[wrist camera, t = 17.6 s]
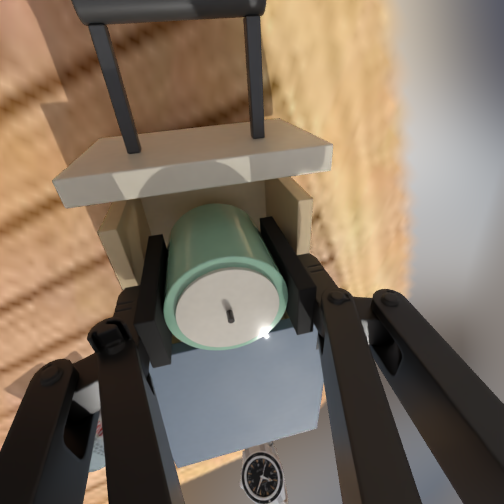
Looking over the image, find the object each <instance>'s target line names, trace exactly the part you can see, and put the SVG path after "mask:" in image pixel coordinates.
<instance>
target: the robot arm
mask: <svg viewBox="0 0 504 504" xmlns="http://www.w3.org/2000/svg"><path fill="white" fill-rule="evenodd" d="M260 233H261V235H262V237H263V239H264V241H265V243H266V245H267V247H268V249H269V251H270V253H271V255H272V257H273V258H274V260H275V262H276V264H277V266H278V268H279V270H280V272H281V274H282V276H283V278H284V280H285V282H286V285H287V288H288V303H287V307H286V311H287V314H288V316H289V318H290V320H291V323H292V325H293V327H294V329H295V332H296V334H297V335H301V334H305V333H310V332H313V325H315V327H316V329H317V331H318V335H317V345H316V349H319V354H320V360H321V367H322V373H323V379H324V386H325V392H326V399H327V405H328V412H329V418H330V424H331V431H332V437H333V444H334V450H335V456H336V463H337V470H338V476H339V483H340V489H341V496H342V502H343V504H422V502H421V499H420V496H419V493H418V490H417V487H416V484H415V481H414V478H413V475H412V472H411V469H410V466H409V463H408V460H407V457H406V454H405V451H404V449H403V445H402V442H401V439H400V436H399V433H398V430H397V427H396V424H395V421H394V418H393V415H392V412H391V409H390V406H389V403H388V400H387V397H386V394H385V391H384V388H383V385H382V383H381V380H380V376H379V374H378V370H377V367H376V364H375V362H376V363H377V365H378V366H379V368H380V369H381V371H382V373H383V374H384V376H385V378H386V379H387V381H388V382H389V384H390V386H391V387H392V389H393V390H394V392H395V394H396V395H397V397H398V398H399V400H400V401H401V404H402V405H403V407H404V408H405V410H406V412H407V413H408V415H409V416H410V418H411V420H412V421H413V423H414V424H415V426H416V427H417V429H418V431H419V433H420V434H421V436H422V437H423V439H424V441H425V442H426V444H427V446H428V447H429V449H430V450H431V452H432V454H433V455H434V457H435V458H436V460H437V462H438V463H439V465H440V466H441V468H442V470H443V471H444V473H445V475H446V476H447V478H448V479H449V481H450V482H451V484H452V486H453V488H454V489H455V490H456V492H457V494H458V495H459V497H460V499H461V500H462V502H463V504H504V404H503V403H502V402H501V401H500V400H499V399H498V397H497V396H496V395H495V394H494V393H493V392H492V391H491V390H490V389H489V388H488V387H487V386H486V384H485V383H484V382H483V381H482V380H481V379H480V378H479V377H478V376H477V375H476V374H475V373H474V372H473V371H472V369H470V367H469V366H468V365H467V364H466V363H465V362H464V361H463V360H462V358H461V357H460V356H459V355H458V354H457V353H456V352H455V351H454V350H453V349H452V348H451V347H450V345H449V344H448V343H447V342H446V341H445V340H444V339H443V338H442V337H441V336H440V335H439V333H438V332H437V331H436V330H435V329H434V328H433V327H432V326H431V325H430V324H429V323H428V322H427V321H426V319H424V317H423V316H422V315H421V314H420V313H419V312H418V311H417V310H416V309H415V308H414V306H413V305H412V304H411V303H410V302H409V301H408V300H407V299H406V298H405V297H404V296H403V295H402V294H400V293H398V292H396V291H394V290H389V289H381V290H378V291H376V292H375V293H374V294H373V298H362V297H353V296H352V295H351V294H350V293H349V292H348V291H346V290H344V289H341V288H338V287H337V285H336V284H335V283H334V281H333V280H332V278H331V277H330V276H329V274H328V273H327V272H326V270H325V269H324V268H323V266H322V265H321V263H320V262H319V261H318V259H317V258H316V257H314V256H313V255H311V254H309V253H306V254H301V255H296V253H295V252H294V250H293V248H292V247H291V245H290V244H289V242H288V241H287V239H286V237H285V236H284V234H283V233H282V231H281V230H280V228H279V226H278V225H277V223H276V222H275V220H274V219H273V217H272V216H270V217H264V218H260ZM166 261H167V247H166V244H165V240H164V237H163V234H159V235H153V236H149V238H148V244H147V249H146V255H145V260H144V266H143V272H142V277H141V283H140V285H138V286H132V287H127V288H125V289H124V290H123V291H122V292H121V294H120V295H119V297H118V301H117V306H116V308H115V313H114V316H113V317H112V318H108V319H105V320H103V321H101V322H99V323H97V324H96V325H95V326H94V327H93V328H92V329H91V330H90V332H89V333H88V337H87V340H88V341H89V343H90V345H91V346H92V348H93V350H94V351H95V353H94V354H92V355H90V356H88V357H86V358H84V359H82V360H80V361H78V362H76V363H73V364H72V363H71V361H70V360H67V359H57V360H55V361H52V362H49V363H48V364H46V365H45V366H43V367H42V368H41V369H40V370H38V371H37V372H36V373H35V375H34V376H33V378H32V379H31V381H30V383H29V385H28V388H27V390H26V392H25V395H24V397H23V399H22V402H21V404H20V406H19V409H18V411H17V413H16V416H15V418H14V420H13V423H12V425H11V427H10V430H9V432H8V434H7V437H6V439H5V441H4V444H3V446H2V448H1V451H0V504H83V500H84V495H85V489H86V484H87V478H88V473H89V468H90V462H91V457H92V451H93V446H94V441H95V435H96V430H97V425H98V419H99V414H100V410H101V419H102V430H103V442H104V454H105V466H106V477H107V489H108V501H109V504H185V502H184V498H183V495H182V491H181V487H180V483H179V479H178V476H177V472H176V468H175V464H174V460H173V457H172V453H171V449H170V445H169V441H168V438H167V434H166V430H165V426H164V423H163V419H162V415H161V411H160V407H159V404H158V400H157V396H156V392H155V388H154V385H153V381H152V377H151V375H150V373H149V363H151V365H152V367H153V368H157V367H161V366H166V365H170V364H171V356H172V332H171V331H170V330H169V328H168V326H167V324H166V322H165V319H164V314H163V306H164V291H165V276H166ZM374 360H375V361H374Z"/></svg>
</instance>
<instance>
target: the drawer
mask: <svg viewBox="0 0 504 504" xmlns="http://www.w3.org/2000/svg"><path fill="white" fill-rule="evenodd" d="M71 1H72V4H73V6H74V9H75V11H76V13H77V15H78V17H79V19H80V20H81V22H82V23H83V24H84V25H86V26H88V28H89V31H90V34H91V37H92V41H93V44H94V47H95V50H96V54H97V57H98V60H99V63H100V66H101V70H102V73H103V76H104V79H105V82H106V86H107V89H108V92H109V95H110V99H111V102H112V105H113V108H114V111H115V115H116V118H117V121H118V124H119V128H120V131H121V134H122V136H116V137H107V138H100V139H98V140H97V141H96V142H95V143H94V144H93V145H91V146H90V147H89V148H88V149H87V150H86V151H85V152H84V153H82V154H81V155H80V156H79V157H78V158H77V159H76V160H75V161H73V162H72V163H71V164H70V165H69V166H68V167H67V168H66V169H64V170H63V171H62V172H61V173H60V174H59V175H58V176H56V177H55V178H54V179H53V180H52V182H53V184H54V186H55V188H56V190H57V192H58V195H59V197H60V199H61V201H62V203H63V205H64V207H65V208H74V207H81V206H88V205H95V204H102V203H108V202H112V204H111V206H110V208H109V210H108V212H107V214H106V216H105V218H104V220H103V222H102V224H101V226H100V228H99V230H98V235H99V237H100V239H101V242H102V244H103V246H104V249H105V251H106V253H107V255H108V258H109V260H110V262H111V264H112V267H113V269H114V271H115V274H116V276H117V278H118V280H119V283H120V285H121V287H122V290H124V289H125V288H127V287H132V286H138V285H140V283H141V277H142V272H143V266H144V260H145V255H146V249H147V244H148V238H149V236H153V235H159V234H163V237H164V240H165V244H166V247H167V246H168V238H169V234H170V232H171V229H172V228H173V226H174V224H175V223H176V222H177V220H178V219H179V218H180V217H181V216H182V215H184V214H185V213H187V212H188V211H190V210H192V209H193V208H196V207H198V206H202V205H206V204H212V203H221V204H228V205H232V206H234V207H237V208H239V209H241V210H243V211H244V212H246V213H247V214H248V215H249V216H250V217H251V218H252V219H253V220H254V222H255V223H256V225H257V227H258V229H259V231H260V218H264V217H270V216H272V217H273V219H274V220H275V222H276V223H277V225H278V226H279V228H280V230H281V231H282V233H283V234H284V236H285V237H286V239H287V241H288V242H289V244H290V245H291V247H292V248H293V250H294V252H295V253H296V255H301V254H306V253H309V254H310V241H311V225H312V209H313V198H312V197H311V196H310V195H309V194H308V193H307V192H306V191H305V190H304V189H303V188H302V187H301V186H299V185H298V184H297V183H296V182H295V181H294V180H293V179H292V178H291V177H290V176H296V175H303V174H310V173H317V172H324V171H330V170H331V163H332V153H333V144H332V143H329V142H327V141H325V140H323V139H321V138H319V137H317V136H315V135H313V134H311V133H309V132H307V131H305V130H303V129H300V128H298V127H296V126H294V125H292V124H290V123H288V122H286V121H284V120H282V119H280V118H278V119H269V120H264V105H263V79H262V53H261V26H260V16H262V15H263V14H264V11H265V7H266V0H71ZM235 17H245V18H244V19H243V22H244V37H245V53H246V68H247V84H248V99H249V115H250V122H242V123H233V124H224V125H215V126H206V127H197V128H188V129H179V130H170V131H161V132H152V133H143V134H137V130H136V127H135V123H134V120H133V116H132V113H131V109H130V106H129V102H128V98H127V95H126V91H125V88H124V84H123V81H122V77H121V73H120V70H119V66H118V63H117V59H116V56H115V52H114V48H113V45H112V41H111V38H110V34H109V31H108V27H107V26H106V25H107V24H125V23H144V22H162V21H180V20H198V19H217V18H235ZM287 318H289V316H288V314H287V311H286V310H285V312H284V314H283V316H282V318H281V319H280V320H283V319H287ZM179 342H182V341H180V340H179V339H178V338H176V337H175V336H174V335H173V334H172V344H174V343H179Z"/></svg>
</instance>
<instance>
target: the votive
mask: <svg viewBox="0 0 504 504" xmlns="http://www.w3.org/2000/svg"><path fill="white" fill-rule="evenodd" d="M287 303H288V288H287V285H286V282H285V280H284V278H283V276H282V274H281V272H280V270H279V268H278V266H277V264H276V262H275V260H274V258H273V257H272V255H271V253H270V251H269V249H268V247H267V245H266V243H265V241H264V239H263V237H262V235H261V233H260V231H259V229H258V227H257V225H256V223H255V222H254V220H253V219H252V218H251V217H250V216H249V215H248V214H247V213H246V212H244V211H243V210H241V209H239V208H237V207H234V206H232V205H228V204H221V203H212V204H206V205H202V206H198V207H196V208H193V209H192V210H190V211H188V212H187V213H185V214H184V215H182V216H181V217H180V218H179V219H178V220H177V222H176V223H175V224H174V226H173V228H172V229H171V232H170V234H169V238H168V246H167V261H166V276H165V291H164V306H163V314H164V319H165V322H166V324H167V326H168V328H169V330H170V331H171V332H172V334H173V335H174V336H175V337H176V338H178V339H179V340H180V341H182V342H184V343H185V344H187V345H190V346H192V347H195V348H199V349H204V350H215V351H217V350H229V349H234V348H239V347H242V346H245V345H247V344H250V343H252V342H254V341H256V340H258V339H260V338H261V337H263V336H264V335H266V334H267V333H268V332H270V331H271V330H272V329H273V328H274V327H275V326H276V325H277V323H278V322H279V321H280V319H281V318H282V316H283V314H284V312H285V310H286V307H287Z"/></svg>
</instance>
